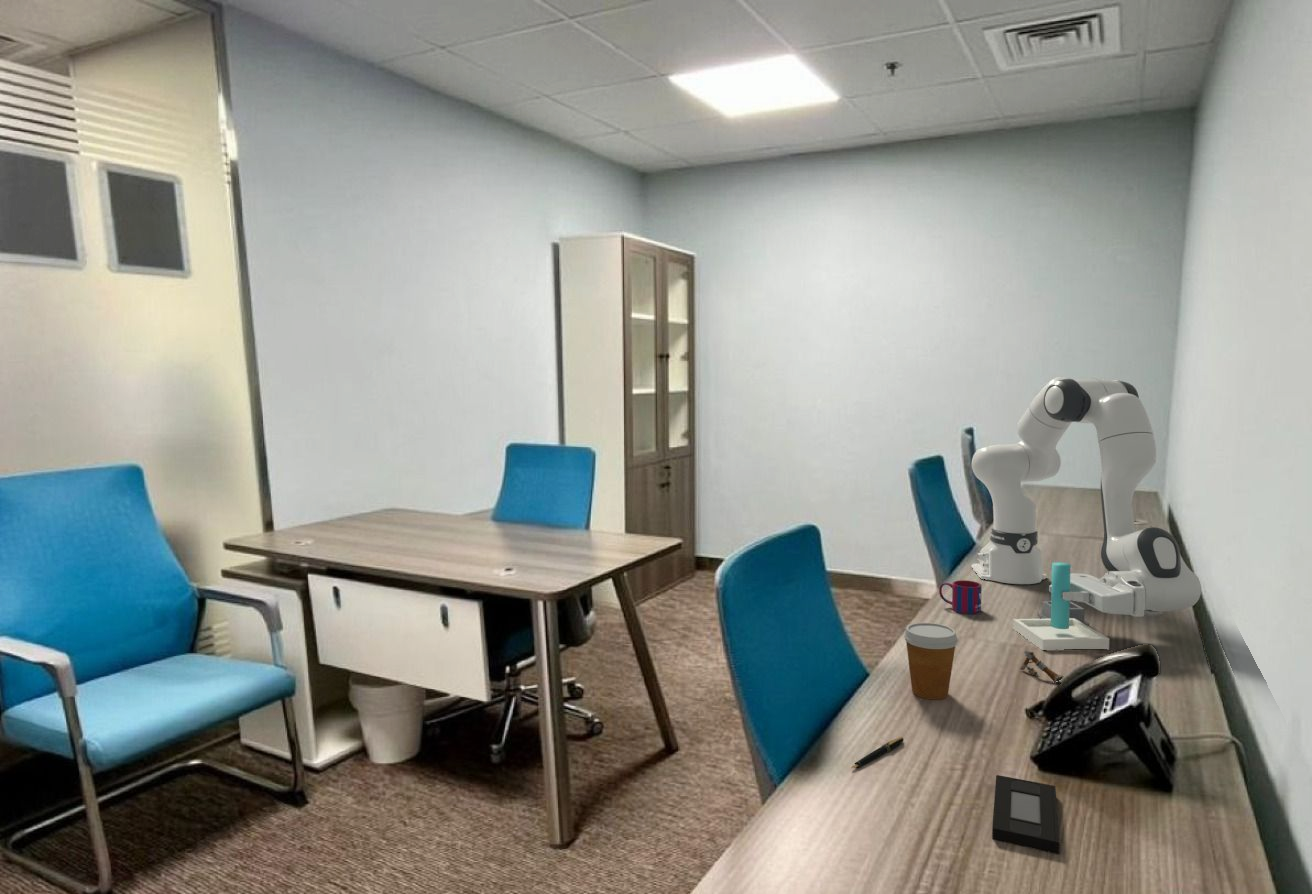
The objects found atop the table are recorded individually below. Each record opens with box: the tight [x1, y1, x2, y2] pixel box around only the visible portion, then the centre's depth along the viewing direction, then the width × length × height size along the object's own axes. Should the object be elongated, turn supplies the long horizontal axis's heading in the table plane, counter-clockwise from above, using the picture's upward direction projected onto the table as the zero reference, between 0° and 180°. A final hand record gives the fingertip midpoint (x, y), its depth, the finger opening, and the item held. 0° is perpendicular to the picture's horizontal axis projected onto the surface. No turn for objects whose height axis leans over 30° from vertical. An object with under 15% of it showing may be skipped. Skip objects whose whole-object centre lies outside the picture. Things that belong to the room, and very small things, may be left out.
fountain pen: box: [850, 736, 904, 769], centre depth 118 cm, size 14×1×2 cm, turn 130°
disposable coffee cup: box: [903, 622, 959, 700], centre depth 141 cm, size 10×10×12 cm
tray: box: [1012, 618, 1110, 651], centre depth 168 cm, size 14×14×2 cm
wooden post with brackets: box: [1020, 650, 1064, 684], centre depth 148 cm, size 2×8×4 cm, turn 29°
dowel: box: [1050, 562, 1072, 629], centre depth 167 cm, size 4×4×14 cm
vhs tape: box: [991, 774, 1060, 855], centre depth 101 cm, size 8×14×2 cm, turn 154°
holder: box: [1037, 600, 1090, 627], centre depth 180 cm, size 8×8×4 cm
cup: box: [938, 579, 983, 615], centre depth 191 cm, size 7×10×7 cm
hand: (1056, 592), depth 167 cm, fingers closed on dowel, 4 cm apart
